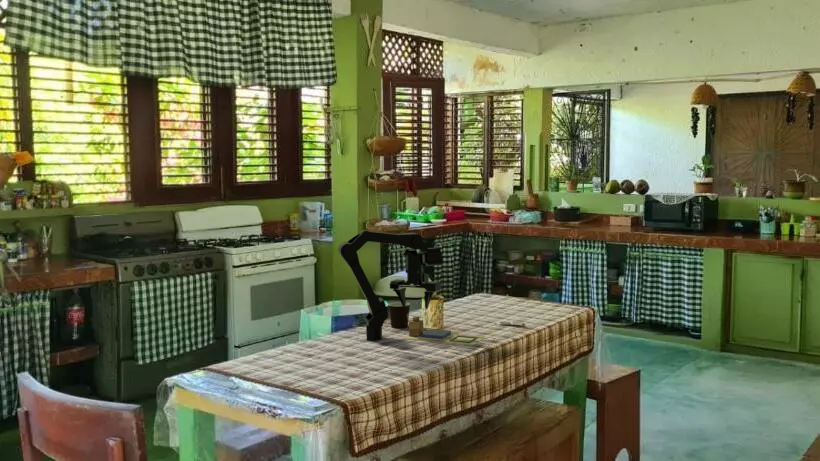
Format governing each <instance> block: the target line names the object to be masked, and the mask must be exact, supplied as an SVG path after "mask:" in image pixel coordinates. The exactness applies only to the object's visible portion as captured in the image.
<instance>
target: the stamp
mask: <svg viewBox="0 0 820 461" xmlns="http://www.w3.org/2000/svg"><path fill="white" fill-rule="evenodd" d="M423 332H424V320H423V319H420V317H419V316H413V317H412V319H411V320H410V321H409V320H408V335H409V336H411V337H419V336H420V334H422V333H423Z"/></svg>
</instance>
